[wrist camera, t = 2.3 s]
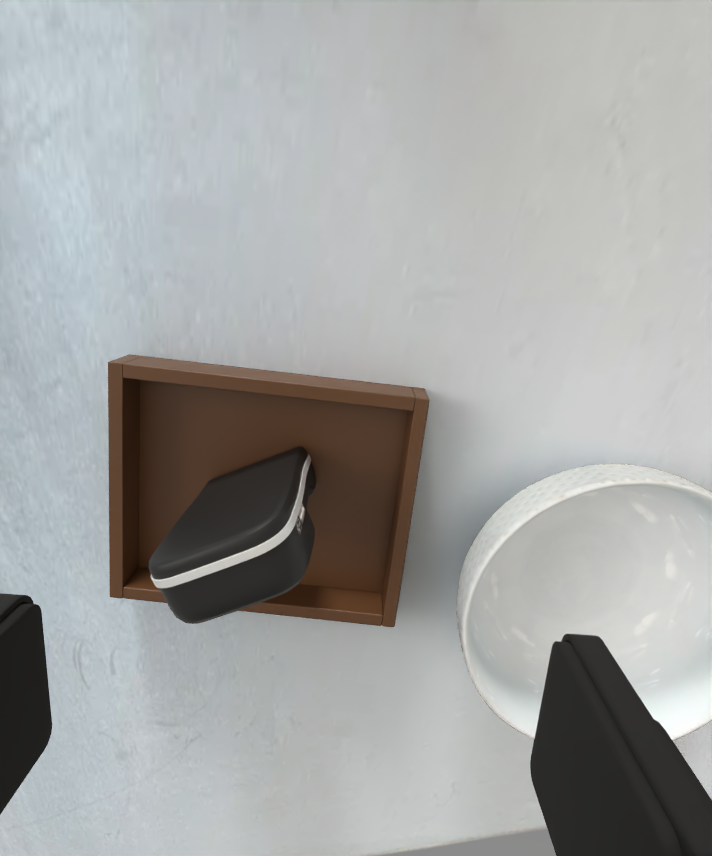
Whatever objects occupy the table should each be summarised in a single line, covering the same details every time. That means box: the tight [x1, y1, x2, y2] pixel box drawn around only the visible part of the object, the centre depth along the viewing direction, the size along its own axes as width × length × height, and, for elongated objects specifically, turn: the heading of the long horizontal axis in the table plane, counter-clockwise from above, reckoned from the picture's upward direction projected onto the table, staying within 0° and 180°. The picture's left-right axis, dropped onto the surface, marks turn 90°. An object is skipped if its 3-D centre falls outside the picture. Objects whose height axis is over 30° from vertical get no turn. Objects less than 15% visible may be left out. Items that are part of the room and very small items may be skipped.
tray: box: [108, 355, 429, 627], centre depth 33 cm, size 18×15×3 cm
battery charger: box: [149, 446, 316, 624], centre depth 29 cm, size 7×4×11 cm, turn 111°
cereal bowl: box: [457, 464, 712, 741], centre depth 33 cm, size 17×17×7 cm
